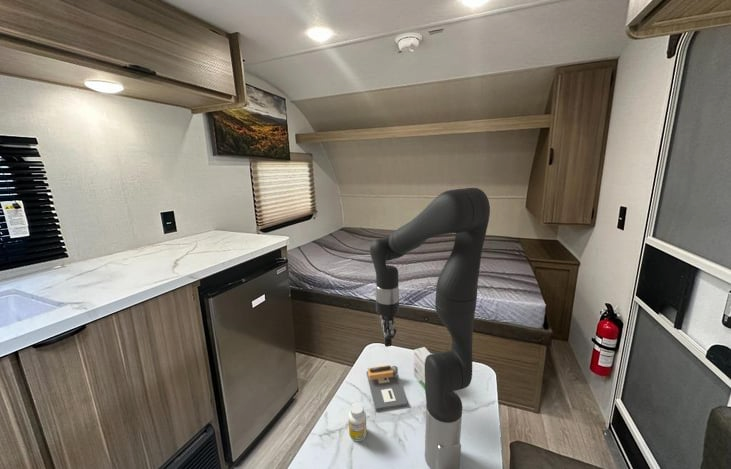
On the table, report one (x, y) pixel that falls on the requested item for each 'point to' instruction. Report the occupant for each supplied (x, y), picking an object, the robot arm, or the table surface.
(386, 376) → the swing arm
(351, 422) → the supplement bottle
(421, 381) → the ink box
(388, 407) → the tray
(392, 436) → the table surface
